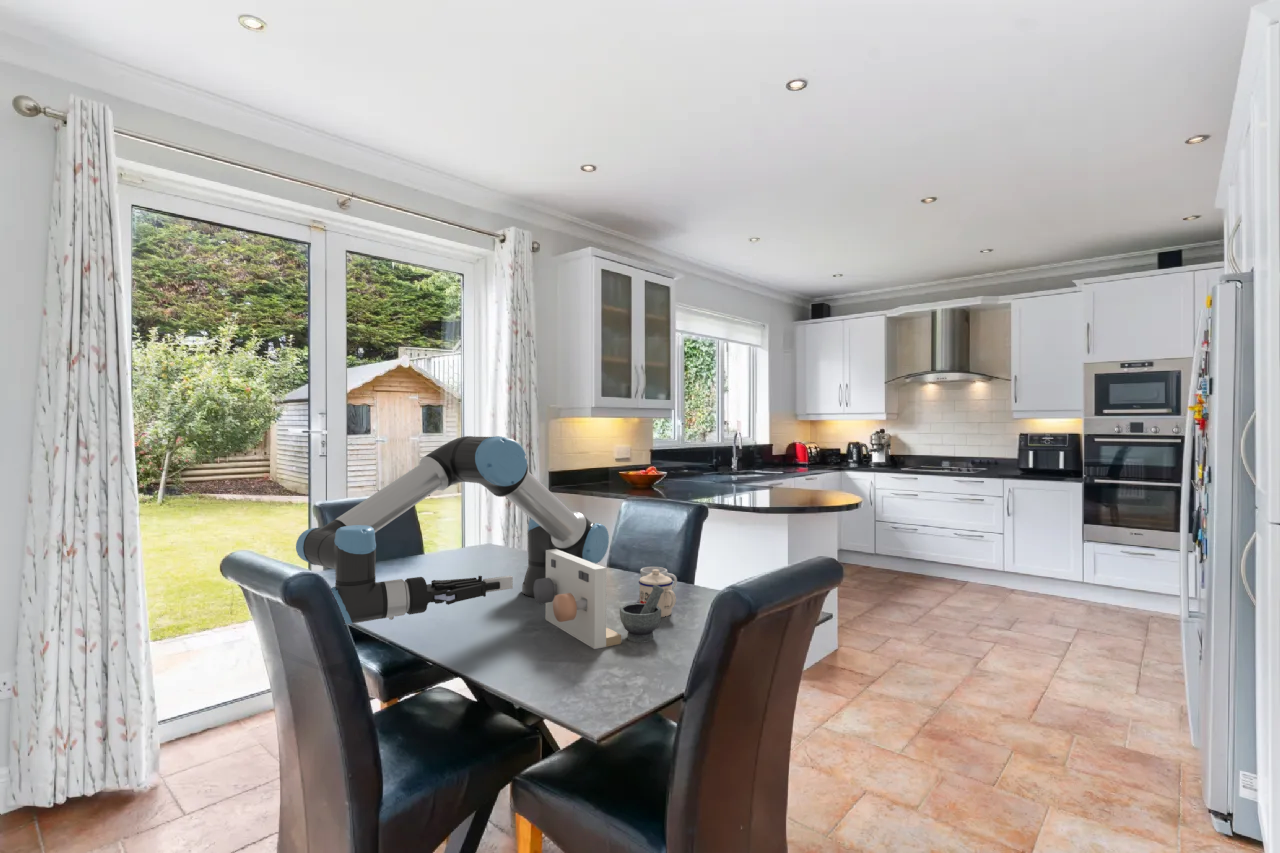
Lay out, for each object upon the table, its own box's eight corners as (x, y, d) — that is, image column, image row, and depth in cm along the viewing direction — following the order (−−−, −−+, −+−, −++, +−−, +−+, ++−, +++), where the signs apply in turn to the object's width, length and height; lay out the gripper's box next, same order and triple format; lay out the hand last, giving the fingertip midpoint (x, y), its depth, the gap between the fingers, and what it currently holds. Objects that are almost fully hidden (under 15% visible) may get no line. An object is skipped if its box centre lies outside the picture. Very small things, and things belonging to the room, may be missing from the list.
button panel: (593, 649, 148) (593, 569, 148) (544, 619, 170) (544, 550, 169) (621, 643, 152) (621, 565, 152) (569, 615, 174) (570, 547, 173)
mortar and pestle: (632, 647, 149) (632, 594, 149) (612, 635, 158) (612, 585, 157) (673, 639, 155) (673, 588, 155) (652, 628, 163) (652, 580, 163)
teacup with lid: (631, 612, 176) (631, 569, 176) (656, 606, 182) (657, 564, 182) (661, 623, 167) (662, 577, 167) (687, 616, 173) (687, 572, 173)
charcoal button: (543, 606, 161) (543, 581, 161) (533, 600, 166) (533, 576, 166) (578, 600, 166) (578, 577, 166) (567, 595, 171) (567, 572, 171)
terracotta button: (564, 625, 146) (564, 598, 146) (552, 618, 151) (553, 592, 151) (601, 618, 151) (601, 592, 151) (589, 611, 156) (589, 586, 156)
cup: (677, 594, 196) (677, 567, 196) (676, 601, 188) (676, 573, 188) (641, 592, 197) (641, 566, 197) (638, 600, 189) (638, 572, 189)
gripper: (398, 606, 145) (501, 591, 157) (412, 622, 134) (522, 605, 146) (398, 572, 144) (501, 560, 157) (412, 585, 133) (522, 571, 146)
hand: (511, 581), depth 152 cm, fingers closed
